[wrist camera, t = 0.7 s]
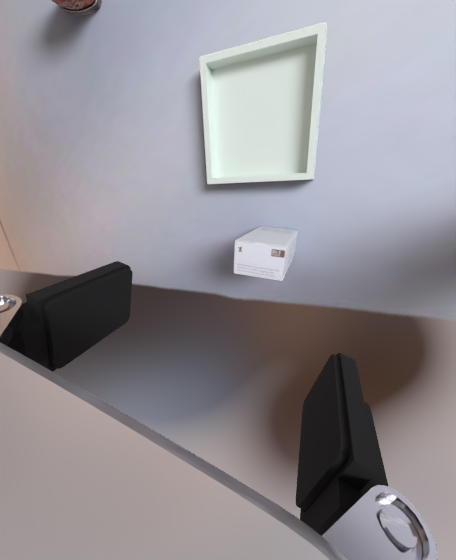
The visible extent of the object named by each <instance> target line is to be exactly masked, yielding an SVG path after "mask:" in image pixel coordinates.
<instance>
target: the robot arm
mask: <svg viewBox="0 0 456 560" xmlns="http://www.w3.org/2000/svg"><path fill="white" fill-rule="evenodd" d="M131 286H132V271H131V270H130V267H129V266H128V265H126V264H123V263H121V262H118V261H117V262H113V263H111V264H108V265H105V266H102V267H100V268H97V269H94V270H92V271H89V272H86V273H83V274H81V275H78V276H75V277H73V278H70V279H67V280H64V281H62V282H59V283H56V284H54V285H51V286H48V287H46V288H43V289H40V290H37V291H35V292H32V293H29V294H26V297H27V302H26V303H24V304H22V301H21V299H20V298H19V297H17V296H14V295H9V294H0V560H438V554H437V548H436V544H435V541H434V538H433V536H432V533H431V531H430V529H429V527H428V526H427V524H426V522H425V520H424V519H423V517H422V516H421V515H420V513H419V512H418V511H417V509H416V508H415V507H414V506H413V505H412V504H411V503H410V502H409V501H408V500H407V499H406V498H405V497H404V496H403V495H401V494H400V493H399V492H397V491H396V490H394V489H392V488H390V487H388V483H387V479H386V474H385V470H384V465H383V462H382V457H381V452H380V448H379V444H378V439H377V435H376V431H375V427H374V422H373V418H372V413H371V409H370V406H369V405H368V404H367V403H366V402H364V400H363V395H362V390H361V385H360V381H359V376H358V371H357V366H356V362H355V359H353V358H350V357H348V356H346V355H343V354H341V353H338V354H337V355H333V354H332V355H331V356H330V358H329V359H328V361H327V363H326V364H325V366H324V368H323V370H322V371H321V373H320V375H319V376H318V378H317V380H316V382H315V383H314V385H313V387H312V389H311V390H310V392H309V394H308V395H307V397H306V399H305V401H304V405H303V412H302V425H301V438H300V451H299V464H298V478H297V491H296V505H297V506H298V507H299V508H301V513H300V520H299V519H298V518H297V517H295V516H294V515H292V514H291V513H289V512H288V511H286V510H285V509H283V508H282V507H280V506H279V505H277V504H276V503H274V502H273V501H271V500H269V499H268V498H266V497H264V496H263V495H261V494H260V493H258V492H256V491H255V490H253V489H251V488H250V487H248V486H246V485H245V484H243V483H242V482H240V481H238V480H237V479H235V478H233V477H232V476H230V475H229V474H227V473H225V472H224V471H222V470H220V469H218V468H217V467H215V466H213V465H212V464H210V463H208V462H207V461H205V460H203V459H202V458H200V457H198V456H196V455H195V454H193V453H191V452H190V451H188V450H186V449H184V448H183V447H181V446H179V445H178V444H176V443H174V442H173V441H171V440H169V439H168V438H166V437H164V436H162V435H161V434H159V433H157V432H156V431H154V430H152V429H151V428H148V427H147V426H145V425H144V424H142V423H140V422H138V421H137V420H135V419H133V418H132V417H130V416H128V415H127V414H125V413H123V412H121V411H120V410H118V409H116V408H114V407H113V406H111V405H109V404H108V403H106V402H104V401H102V400H101V399H99V398H97V397H96V396H94V395H92V394H90V393H89V392H87V391H85V390H83V389H82V388H80V387H78V386H77V385H75V384H73V383H71V382H70V381H68V380H66V379H64V378H62V377H61V376H59V375H57V374H56V373H54V372H53V371H54V370H55V369H57V368H62V367H64V366H65V365H66V364H68V363H69V362H71V361H72V360H73V359H75V358H76V357H78V356H79V355H81V354H82V353H84V352H85V351H86V350H88V349H89V348H91V347H92V346H94V345H95V344H96V343H98V342H99V341H101V340H102V339H103V338H105V337H106V336H108V335H109V334H111V333H112V332H113V331H115V330H116V329H118V328H119V327H120V326H122V325H123V324H125V323H126V322H127V321H128V319H129V316H130V302H131Z"/></svg>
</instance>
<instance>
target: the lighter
mask: <svg viewBox="0 0 456 560" xmlns="http://www.w3.org/2000/svg"><path fill="white" fill-rule="evenodd" d="M52 1H53V2H55V3H56V4H58V5H59V6H60V7H61V9H63V10H64V11H66V12H68V13H70V14H74V15H87V14H91V13H93V12H95V11H97V10H99V9H100V7H101V4H102V0H52Z"/></svg>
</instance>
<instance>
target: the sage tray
mask: <svg viewBox="0 0 456 560" xmlns="http://www.w3.org/2000/svg"><path fill="white" fill-rule="evenodd" d="M326 43H327V22H323V23H319V24H316V25H312V26H308V27H305V28H301V29H298V30H294V31H290V32H287V33H283V34H279V35H276V36H272V37H269V38H265V39H261V40H258V41H254V42H250V43H247V44H243V45H239V46H236V47H232V48H229V49H225V50H221V51H218V52H214V53H210V54H207V55H203V56H200V57H199V60H200V76H201V92H202V108H203V124H204V139H205V155H206V171H207V184H228V183H250V182H272V181H293V180H314V176H315V165H316V153H317V142H318V131H319V120H320V109H321V98H322V87H323V76H324V65H325V54H326Z"/></svg>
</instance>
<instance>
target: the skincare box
mask: <svg viewBox="0 0 456 560" xmlns="http://www.w3.org/2000/svg"><path fill="white" fill-rule="evenodd" d="M297 235H298V230H291V229H282V228H273V227H263V226H260V227H258V228H256V229H254V230H253V231H251V232H249V233H247V234H245V235H244V236H242V237H240V238H238V239H236V240H235V248H234V274H240V275H247V276H253V277H259V278H265V279H271V280H278V281H282V280H283V279H284V276H285V274H286V272H287V270H288V268H289V266H290V264H291V262H292V260H293V257H294V253H295V247H296V240H297Z"/></svg>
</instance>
